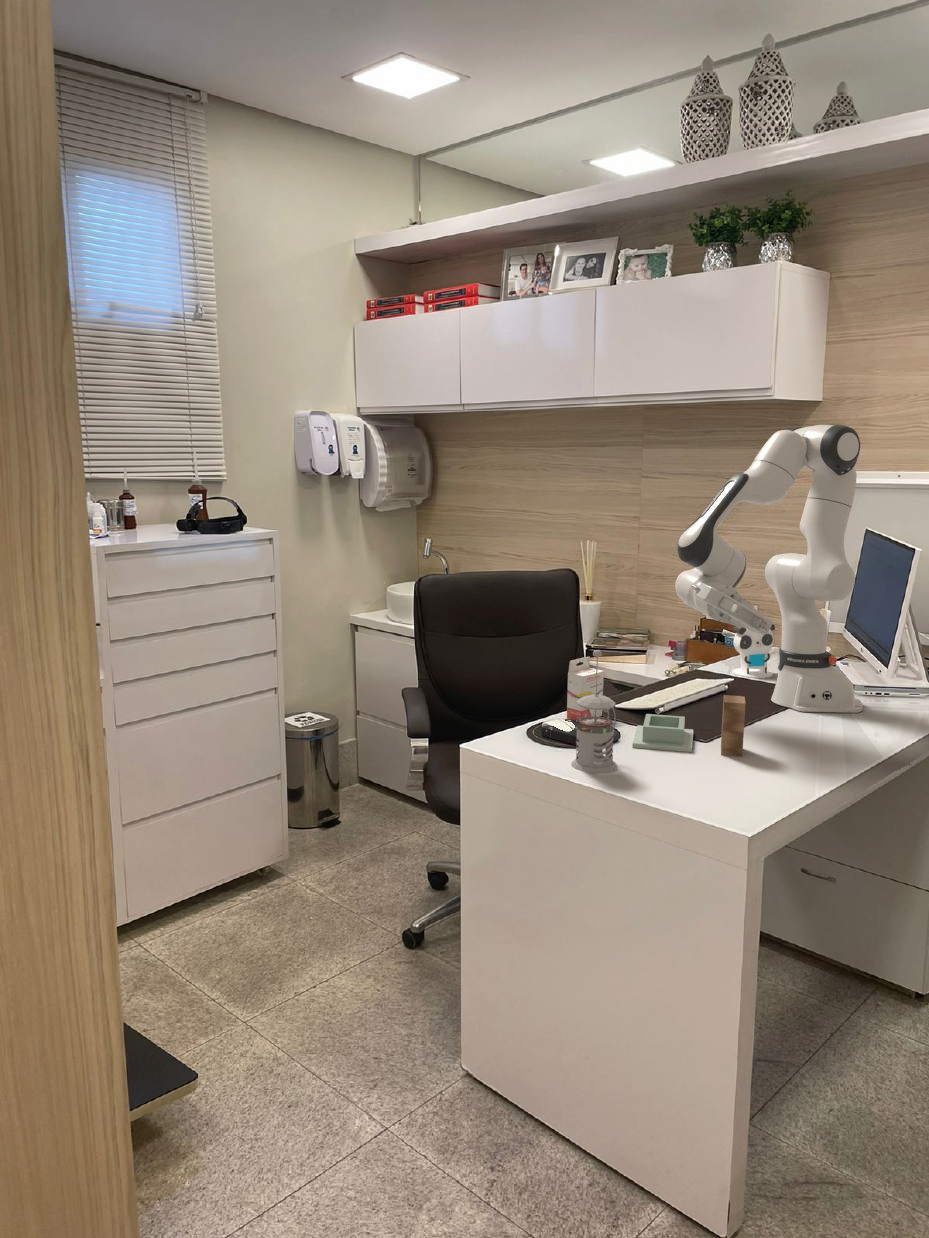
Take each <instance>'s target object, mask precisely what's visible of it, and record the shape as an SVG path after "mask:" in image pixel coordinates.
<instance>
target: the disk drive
mask: <svg viewBox="0 0 929 1238" xmlns="http://www.w3.org/2000/svg"><path fill="white" fill-rule="evenodd" d="M564 720H565V721H568V722H572V723H573V724H574V725H575V728H574V730H572V731H563V730H560V729H558V728H556V727H554V726H551V725H549V724H546V725H544V726H541V735H540V736H541V737H544V736H545V738H547V737H549V738H548V739H551V738H552V740H554V739H559V740H562V741H566V742H568V743H567V744H569V743H571V744H570V745H573V746H576V745H577V743H576V741H577V742H578V740H579V739H578V740H577V726H578V725H580V723H579V721H577V720H573V719H569V718H565V719H564ZM605 730H606V727H603V733H605ZM580 731H588V732H591V733H592V730H591V729H588V728H582V729H581V730H580ZM613 737H614V738H613V743H614V742H616V741H618V739H619V738H618V737H619V734H618V732H617V731H616V730H614V734H613ZM562 741H561V742H562ZM604 745H606V742H605V743H603V746H604ZM577 747H578V745H577Z"/></svg>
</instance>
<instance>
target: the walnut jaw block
mask: <svg viewBox="0 0 929 1238" xmlns="http://www.w3.org/2000/svg"><path fill="white" fill-rule="evenodd" d="M722 701H723V702H722V718H721V720H722V721H721V723H722V724H721V737H720V738H721V739H720V755H721V756H729V757H730V756H732V757H743V752H744V751H743V749H744V734H745V717H746V697H745V696H742V695H727V694H723V700H722Z"/></svg>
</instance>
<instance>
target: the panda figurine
mask: <svg viewBox="0 0 929 1238" xmlns="http://www.w3.org/2000/svg"><path fill="white" fill-rule="evenodd" d="M775 629H776V626H775V625H774V624H773V623H772V626H771V628H770V629H769V631H768V632H767V634H765V635H762V634H759V633H756V632H753V631H751V630H748V629H746V628H743V627H742V628H738V627H735V626H733V628H732V630H733V632H734V633H735V635H734V638H733V647H734V650H735V651H736V652H737V653H739V655H740V667H738V668H734V669H733V670H732V673H733V674H734V675H736V676H738V677H743V678H748V679H750V678H752V679H767V678H770V677H772V676H773V675H774V674H773V672H772V671H770V670H768V661H770V659H771V655H770V652H771V651H772V649H773V647H774V641H775V640H774V634H773V631H775Z"/></svg>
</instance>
